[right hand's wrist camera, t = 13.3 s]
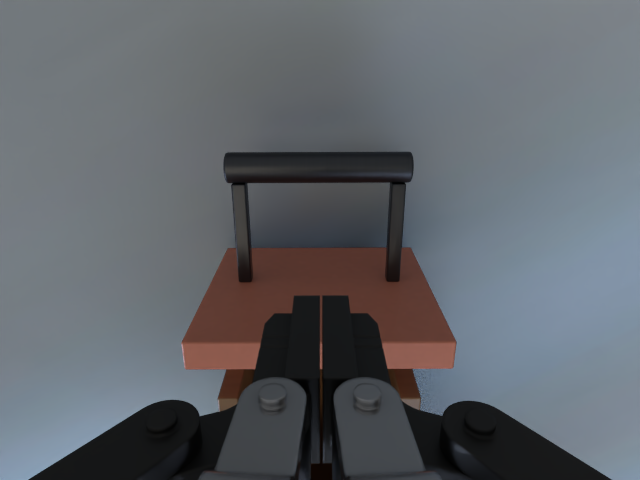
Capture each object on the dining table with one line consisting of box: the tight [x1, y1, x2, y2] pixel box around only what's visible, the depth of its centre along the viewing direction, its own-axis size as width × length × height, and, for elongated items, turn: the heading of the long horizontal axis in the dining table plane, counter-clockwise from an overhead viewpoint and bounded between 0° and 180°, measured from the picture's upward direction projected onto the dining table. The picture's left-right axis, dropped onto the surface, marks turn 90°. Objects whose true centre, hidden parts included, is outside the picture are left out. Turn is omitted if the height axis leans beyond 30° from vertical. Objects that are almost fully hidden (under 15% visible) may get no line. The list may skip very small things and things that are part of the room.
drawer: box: [181, 152, 456, 480], centre depth 23 cm, size 26×10×9 cm, turn 0°
